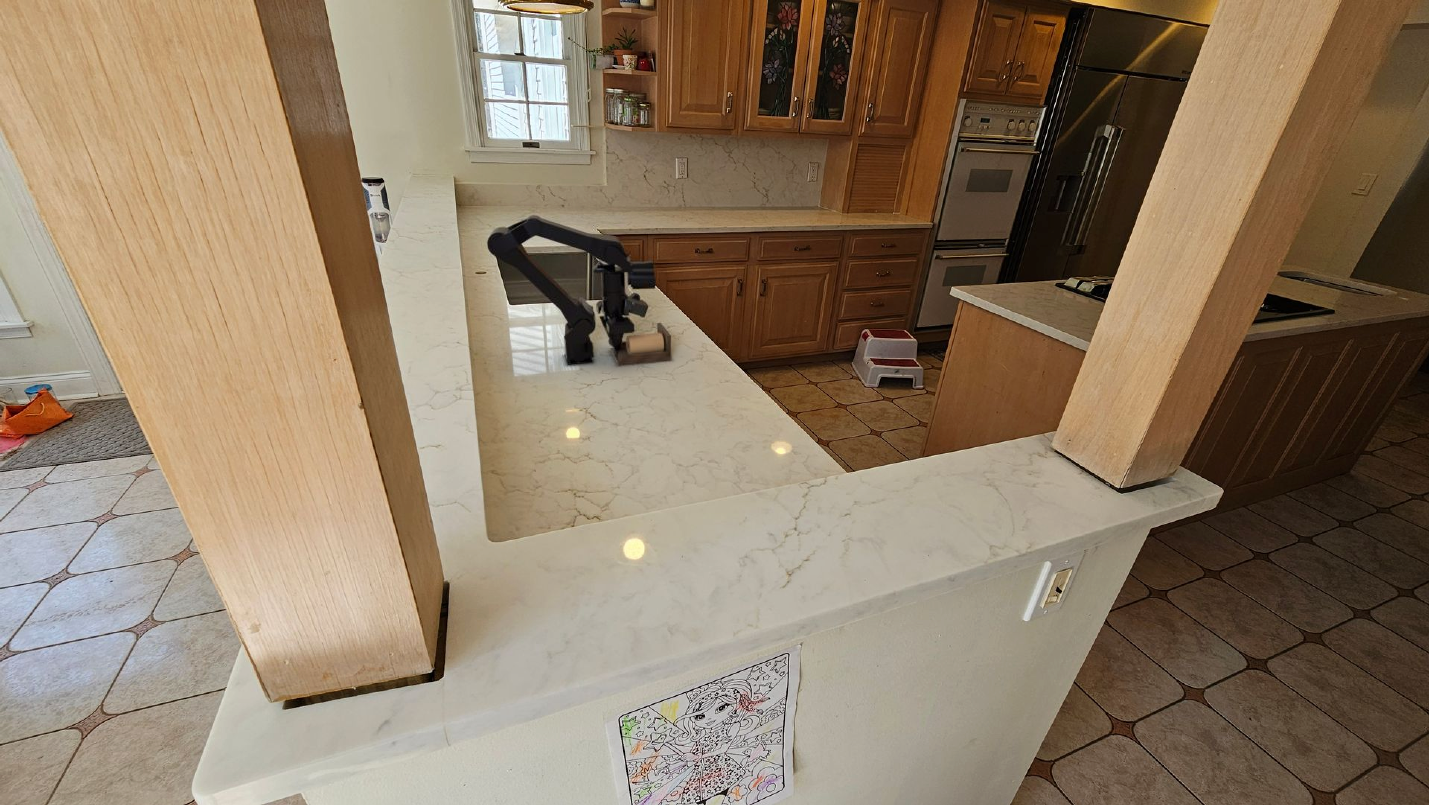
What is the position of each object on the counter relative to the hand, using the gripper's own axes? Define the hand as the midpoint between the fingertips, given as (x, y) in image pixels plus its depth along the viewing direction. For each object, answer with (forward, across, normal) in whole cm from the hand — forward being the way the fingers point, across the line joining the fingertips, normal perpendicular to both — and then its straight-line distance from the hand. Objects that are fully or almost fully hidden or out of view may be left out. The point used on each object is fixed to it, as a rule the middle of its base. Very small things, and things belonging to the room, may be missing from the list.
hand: (615, 347), depth 158 cm
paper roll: (0, 0, -8) cm, 8 cm away
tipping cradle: (+3, 0, -6) cm, 7 cm away
